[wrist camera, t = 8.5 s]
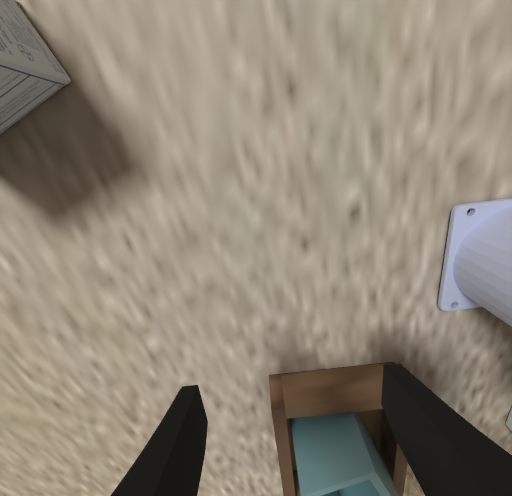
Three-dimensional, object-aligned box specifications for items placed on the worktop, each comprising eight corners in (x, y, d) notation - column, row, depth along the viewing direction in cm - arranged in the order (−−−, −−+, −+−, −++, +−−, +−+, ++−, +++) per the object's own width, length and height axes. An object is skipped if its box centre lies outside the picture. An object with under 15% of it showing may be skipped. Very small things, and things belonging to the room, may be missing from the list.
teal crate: (344, 389, 22) (375, 471, 17) (376, 443, 25) (413, 530, 19) (289, 411, 23) (301, 496, 18) (326, 461, 26) (347, 550, 20)
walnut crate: (393, 361, 22) (416, 395, 19) (385, 460, 27) (402, 500, 24) (269, 375, 22) (271, 410, 19) (282, 470, 27) (285, 511, 24)
